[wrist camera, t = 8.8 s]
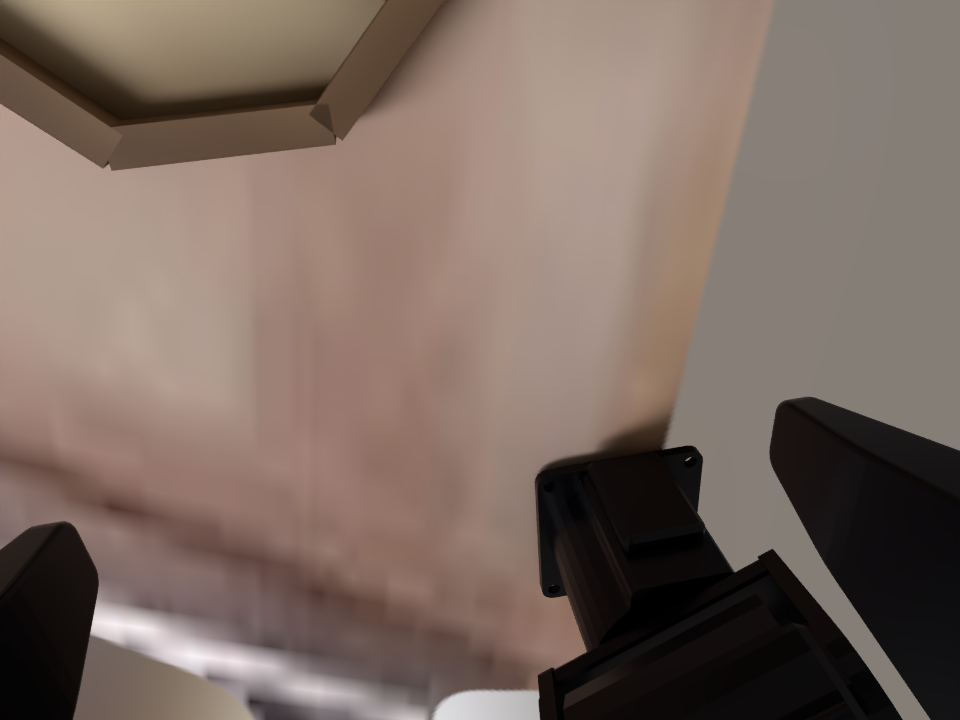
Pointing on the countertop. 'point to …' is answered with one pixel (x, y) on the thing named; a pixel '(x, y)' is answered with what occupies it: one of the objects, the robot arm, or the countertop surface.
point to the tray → (199, 72)
